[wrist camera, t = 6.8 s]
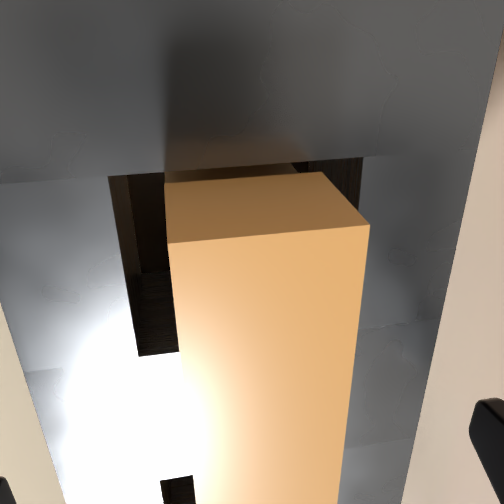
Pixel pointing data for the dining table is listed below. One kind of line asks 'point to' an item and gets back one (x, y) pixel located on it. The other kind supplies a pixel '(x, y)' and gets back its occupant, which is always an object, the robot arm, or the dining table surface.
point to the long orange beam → (265, 328)
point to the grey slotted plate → (218, 156)
